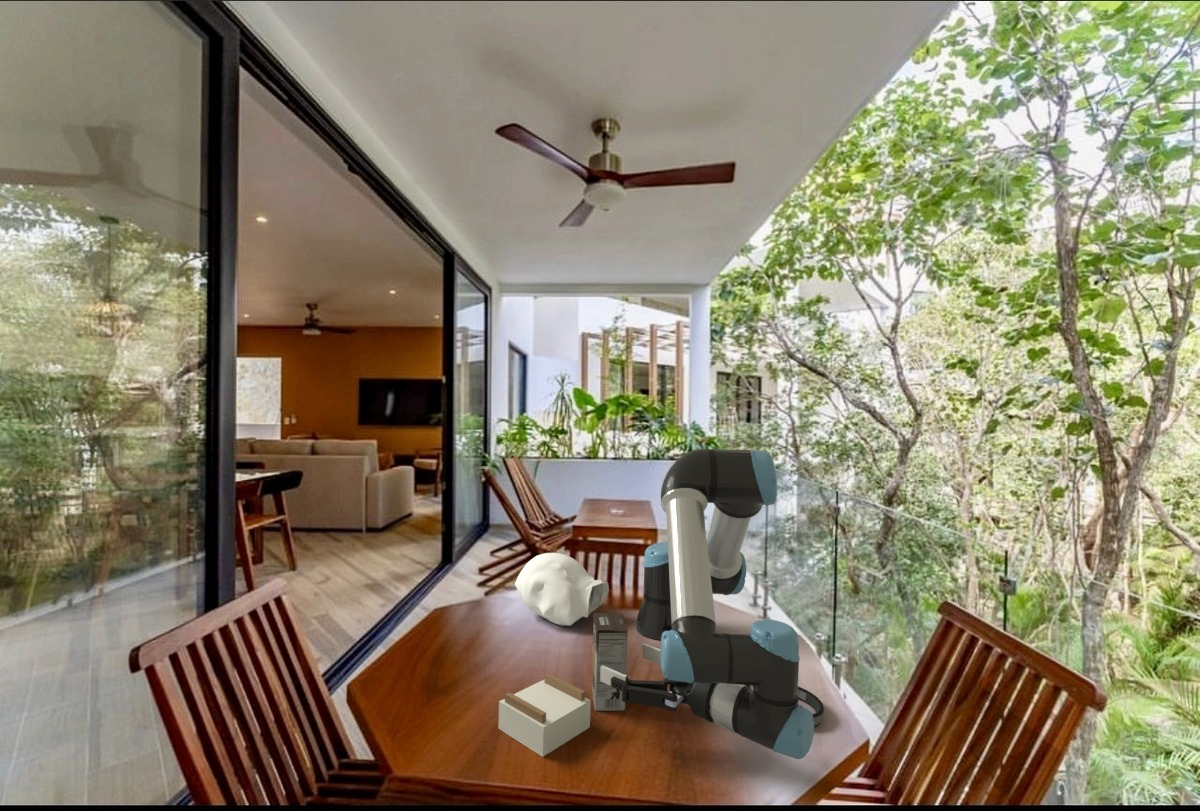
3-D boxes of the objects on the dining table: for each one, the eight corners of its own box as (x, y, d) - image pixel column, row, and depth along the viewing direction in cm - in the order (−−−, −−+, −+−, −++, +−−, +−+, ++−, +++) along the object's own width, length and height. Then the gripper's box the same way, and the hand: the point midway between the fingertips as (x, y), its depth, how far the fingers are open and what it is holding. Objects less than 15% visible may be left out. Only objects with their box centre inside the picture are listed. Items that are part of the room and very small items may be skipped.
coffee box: (590, 688, 115) (592, 612, 115) (620, 687, 116) (622, 612, 116) (593, 711, 106) (596, 629, 106) (626, 711, 107) (628, 629, 107)
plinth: (545, 703, 109) (546, 670, 109) (589, 727, 101) (590, 692, 101) (498, 728, 100) (499, 693, 100) (542, 757, 92) (543, 718, 92)
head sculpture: (569, 656, 143) (500, 613, 156) (609, 614, 159) (543, 579, 171) (573, 604, 137) (501, 564, 149) (614, 565, 153) (546, 532, 165)
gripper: (680, 755, 84) (580, 704, 98) (750, 694, 103) (658, 659, 117) (681, 707, 85) (582, 663, 98) (750, 655, 104) (659, 624, 117)
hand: (623, 661), depth 108 cm, fingers open, 13 cm apart
